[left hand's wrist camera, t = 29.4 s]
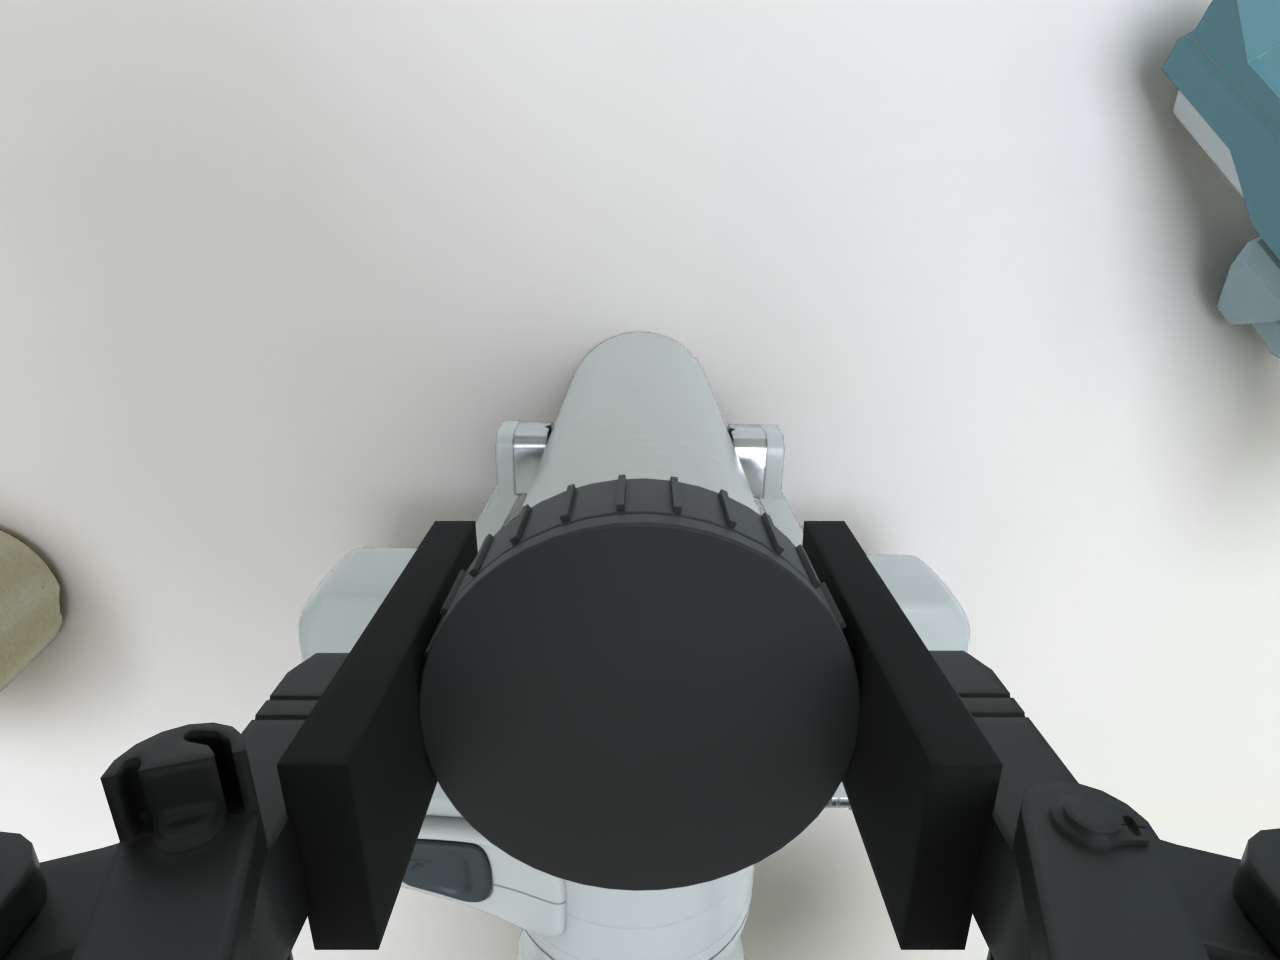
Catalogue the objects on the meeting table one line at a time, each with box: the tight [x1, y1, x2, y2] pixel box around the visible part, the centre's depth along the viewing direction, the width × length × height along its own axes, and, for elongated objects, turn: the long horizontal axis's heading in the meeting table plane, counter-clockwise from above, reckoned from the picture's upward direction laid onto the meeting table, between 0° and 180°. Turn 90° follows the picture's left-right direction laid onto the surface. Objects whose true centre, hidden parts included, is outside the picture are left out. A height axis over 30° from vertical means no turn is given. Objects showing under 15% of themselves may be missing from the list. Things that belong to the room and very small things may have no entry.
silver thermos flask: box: [519, 332, 761, 515], centre depth 20 cm, size 5×5×17 cm
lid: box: [419, 475, 861, 891], centre depth 11 cm, size 6×6×2 cm
